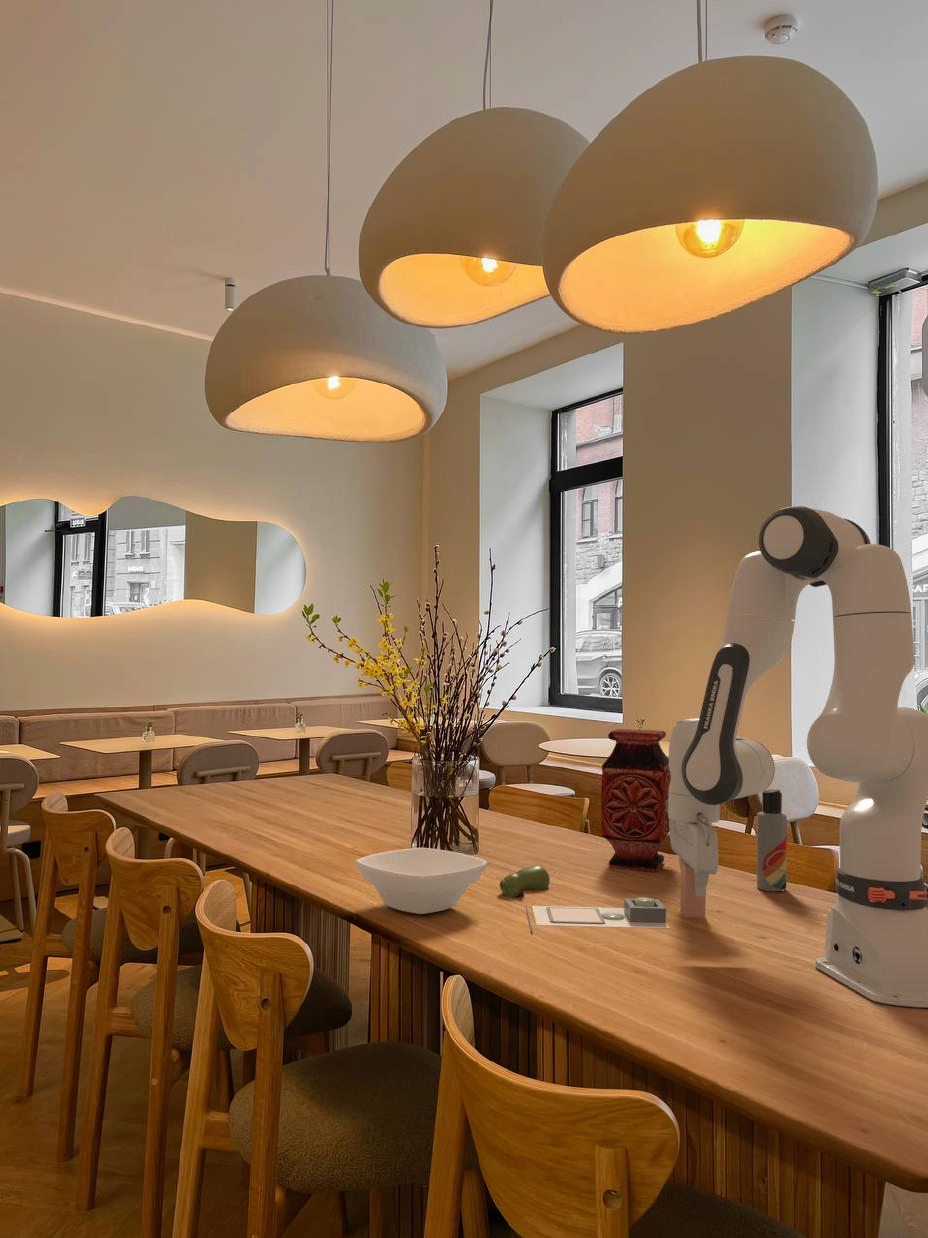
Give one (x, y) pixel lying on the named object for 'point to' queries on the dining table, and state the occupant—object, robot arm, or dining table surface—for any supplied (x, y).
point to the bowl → (421, 877)
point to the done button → (644, 902)
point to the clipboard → (586, 917)
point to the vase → (635, 799)
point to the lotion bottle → (771, 843)
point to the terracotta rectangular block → (690, 894)
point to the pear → (525, 881)
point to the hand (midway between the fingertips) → (693, 888)
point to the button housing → (645, 912)
